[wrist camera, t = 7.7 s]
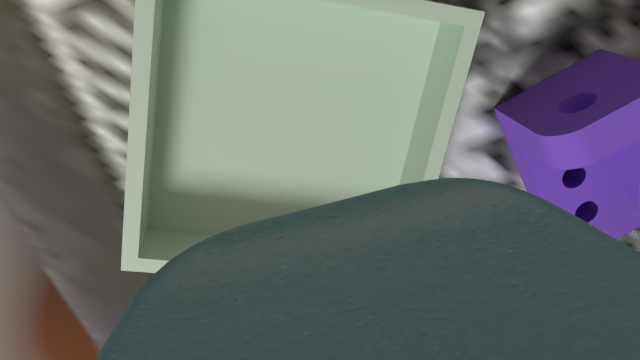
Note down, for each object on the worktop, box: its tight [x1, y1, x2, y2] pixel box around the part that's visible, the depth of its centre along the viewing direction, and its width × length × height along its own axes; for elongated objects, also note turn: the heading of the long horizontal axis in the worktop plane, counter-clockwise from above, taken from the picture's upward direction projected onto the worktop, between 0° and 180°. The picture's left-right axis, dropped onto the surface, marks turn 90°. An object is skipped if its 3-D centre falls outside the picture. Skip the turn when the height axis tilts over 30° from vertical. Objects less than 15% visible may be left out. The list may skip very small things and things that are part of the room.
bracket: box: [494, 49, 640, 239], centre depth 31 cm, size 12×7×7 cm, turn 28°
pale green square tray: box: [121, 0, 485, 273], centre depth 28 cm, size 16×16×4 cm
